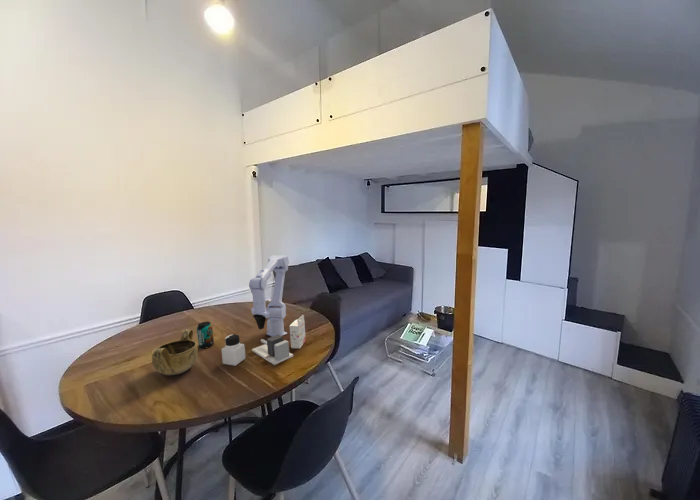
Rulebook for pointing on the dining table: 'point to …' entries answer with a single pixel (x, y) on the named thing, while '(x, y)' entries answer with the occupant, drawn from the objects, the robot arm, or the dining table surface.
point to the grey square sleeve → (272, 342)
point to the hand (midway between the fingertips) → (261, 328)
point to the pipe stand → (280, 352)
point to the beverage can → (205, 334)
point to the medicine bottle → (233, 350)
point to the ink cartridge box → (297, 333)
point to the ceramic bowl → (176, 355)
